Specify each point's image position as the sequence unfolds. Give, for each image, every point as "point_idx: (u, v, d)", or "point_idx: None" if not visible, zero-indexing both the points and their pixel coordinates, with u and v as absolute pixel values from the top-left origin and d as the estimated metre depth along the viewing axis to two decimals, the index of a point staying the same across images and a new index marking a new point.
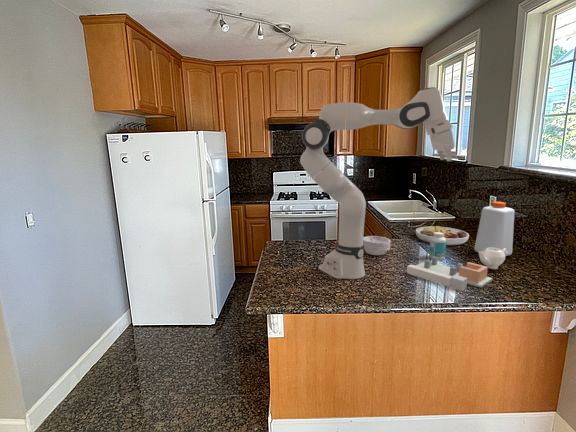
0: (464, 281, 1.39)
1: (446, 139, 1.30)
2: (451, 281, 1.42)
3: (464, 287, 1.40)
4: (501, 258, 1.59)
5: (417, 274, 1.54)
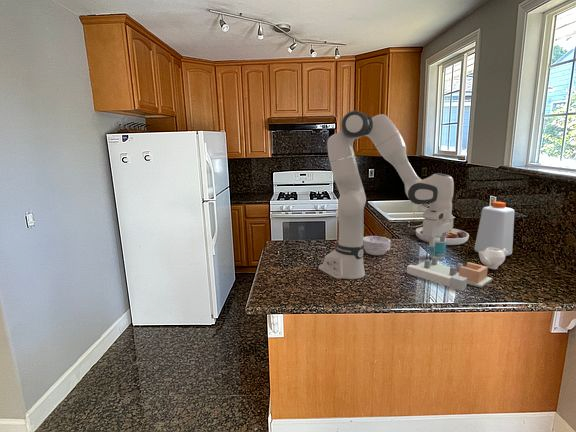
0: (464, 281, 1.39)
1: (426, 227, 1.39)
2: (450, 281, 1.42)
3: (464, 287, 1.40)
4: (501, 258, 1.59)
5: (417, 274, 1.54)
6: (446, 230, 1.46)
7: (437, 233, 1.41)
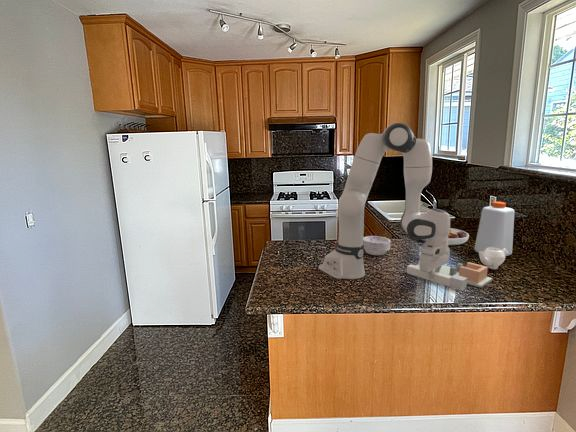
0: (464, 281, 1.39)
1: (423, 261, 1.42)
2: (450, 280, 1.42)
3: (464, 287, 1.40)
4: (501, 258, 1.59)
5: (417, 274, 1.54)
6: (443, 263, 1.49)
7: (433, 267, 1.44)
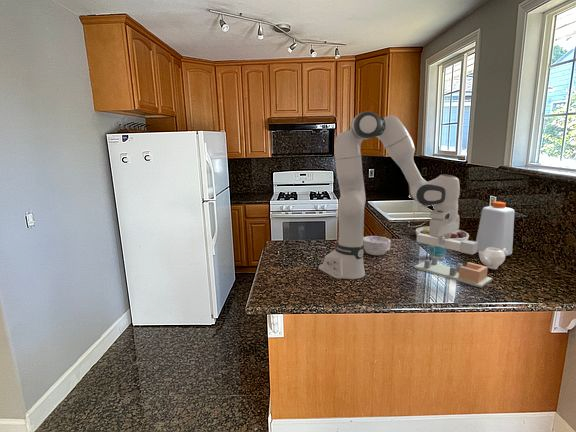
0: (475, 245, 1.40)
1: (433, 226, 1.42)
2: (461, 245, 1.42)
3: (475, 251, 1.40)
4: (501, 258, 1.59)
5: (427, 242, 1.54)
6: (452, 229, 1.50)
7: (443, 233, 1.45)
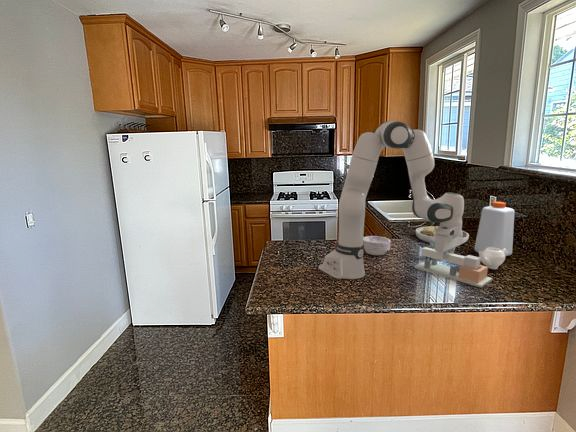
0: (478, 260, 1.47)
1: (438, 242, 1.49)
2: (465, 260, 1.49)
3: (478, 266, 1.47)
4: (501, 258, 1.59)
5: (432, 255, 1.61)
6: (456, 244, 1.57)
7: (448, 248, 1.51)
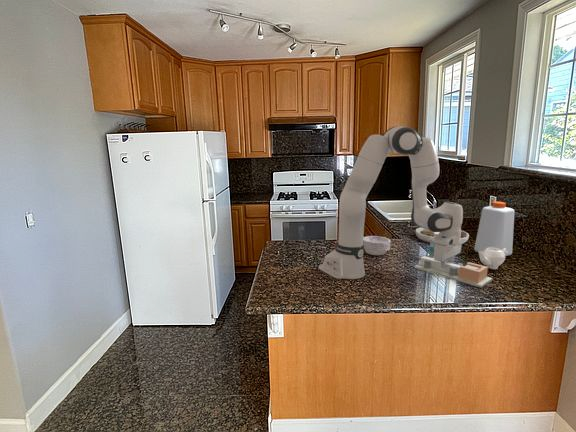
0: None
1: (437, 251, 1.50)
2: None
3: None
4: (501, 258, 1.59)
5: (430, 265, 1.62)
6: (455, 253, 1.58)
7: (447, 257, 1.52)
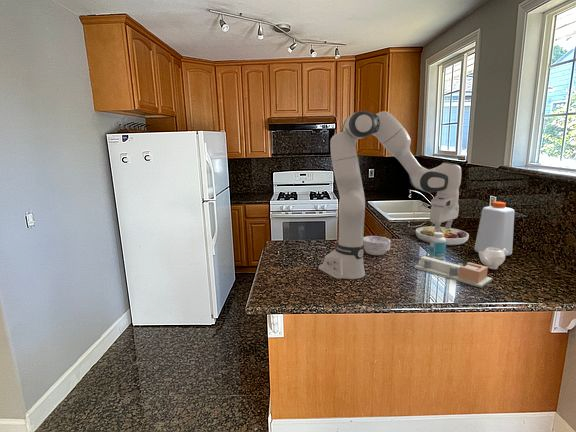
0: None
1: (433, 213, 1.45)
2: None
3: None
4: (501, 258, 1.59)
5: (430, 265, 1.62)
6: (452, 217, 1.53)
7: (443, 219, 1.48)
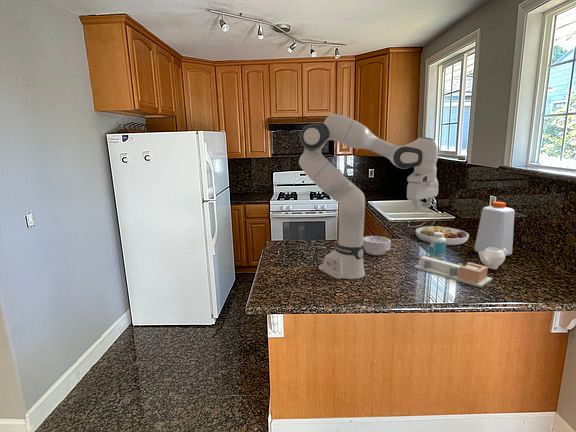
0: None
1: (410, 190, 1.39)
2: None
3: None
4: (501, 258, 1.59)
5: (430, 265, 1.62)
6: (431, 195, 1.47)
7: (421, 197, 1.42)
